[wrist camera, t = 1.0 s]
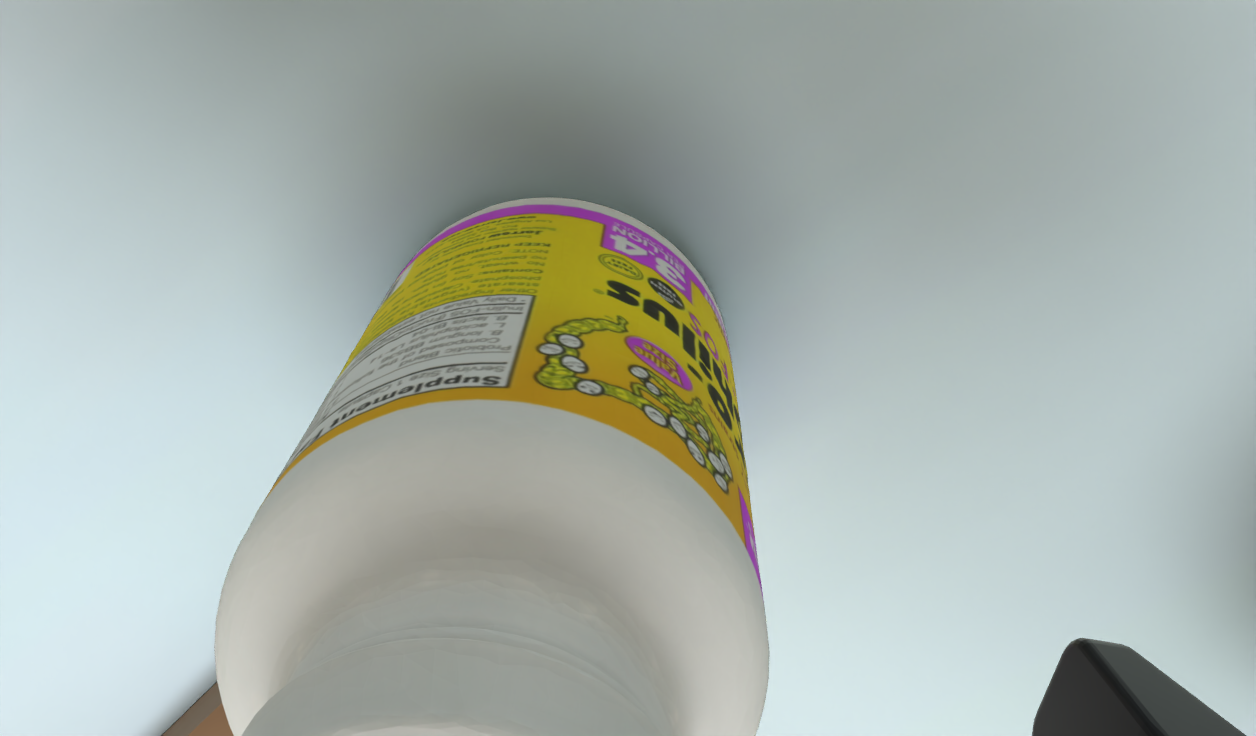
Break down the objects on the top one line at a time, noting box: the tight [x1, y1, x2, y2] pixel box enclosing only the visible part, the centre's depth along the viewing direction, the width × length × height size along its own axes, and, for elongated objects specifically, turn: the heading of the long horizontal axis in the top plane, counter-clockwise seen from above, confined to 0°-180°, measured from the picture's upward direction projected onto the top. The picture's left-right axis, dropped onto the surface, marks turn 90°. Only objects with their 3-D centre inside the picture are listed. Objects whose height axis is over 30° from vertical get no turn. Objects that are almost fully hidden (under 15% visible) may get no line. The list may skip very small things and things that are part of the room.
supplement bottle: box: [214, 197, 769, 736], centre depth 16 cm, size 7×7×13 cm
